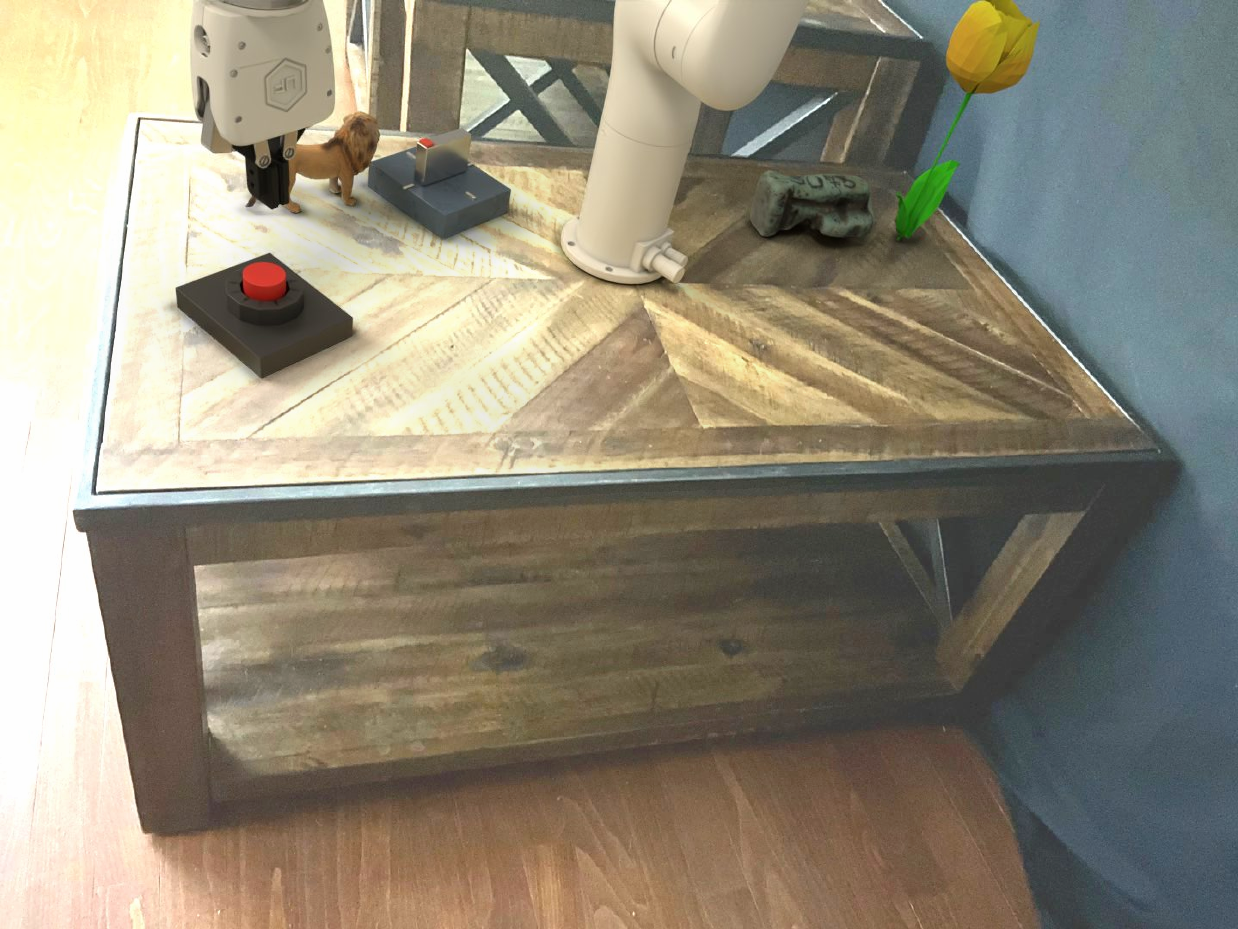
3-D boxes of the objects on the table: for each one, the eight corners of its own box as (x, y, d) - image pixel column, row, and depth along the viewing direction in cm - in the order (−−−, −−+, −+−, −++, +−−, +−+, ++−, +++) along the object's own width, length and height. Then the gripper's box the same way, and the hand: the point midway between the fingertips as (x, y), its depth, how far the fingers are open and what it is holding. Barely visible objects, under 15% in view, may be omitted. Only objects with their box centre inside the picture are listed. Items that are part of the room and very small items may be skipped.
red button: (294, 293, 92) (294, 277, 90) (260, 307, 89) (260, 291, 88) (269, 273, 93) (268, 257, 92) (234, 286, 90) (233, 270, 89)
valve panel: (510, 211, 115) (513, 187, 113) (440, 240, 108) (443, 215, 106) (436, 162, 119) (439, 137, 117) (364, 187, 112) (366, 161, 110)
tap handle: (457, 164, 114) (462, 125, 111) (467, 171, 113) (472, 132, 110) (413, 179, 110) (416, 139, 107) (423, 186, 109) (427, 146, 106)
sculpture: (817, 162, 132) (730, 197, 125) (850, 131, 125) (759, 166, 118) (863, 244, 131) (778, 283, 124) (899, 217, 124) (810, 257, 118)
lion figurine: (362, 174, 114) (365, 99, 108) (386, 199, 112) (391, 124, 105) (235, 198, 106) (230, 118, 99) (258, 226, 103) (255, 146, 97)
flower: (884, 258, 126) (999, 17, 105) (856, 221, 131) (960, -16, 111) (941, 259, 129) (1064, 24, 108) (912, 222, 134) (1023, -8, 114)
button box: (352, 336, 95) (354, 301, 92) (261, 378, 88) (259, 342, 85) (270, 271, 99) (269, 236, 96) (177, 307, 92) (173, 270, 90)
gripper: (195, 15, 66) (218, 251, 79) (374, -23, 75) (369, 193, 88) (127, -31, 69) (160, 205, 82) (308, -62, 78) (313, 153, 91)
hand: (269, 198), depth 85 cm, fingers closed
